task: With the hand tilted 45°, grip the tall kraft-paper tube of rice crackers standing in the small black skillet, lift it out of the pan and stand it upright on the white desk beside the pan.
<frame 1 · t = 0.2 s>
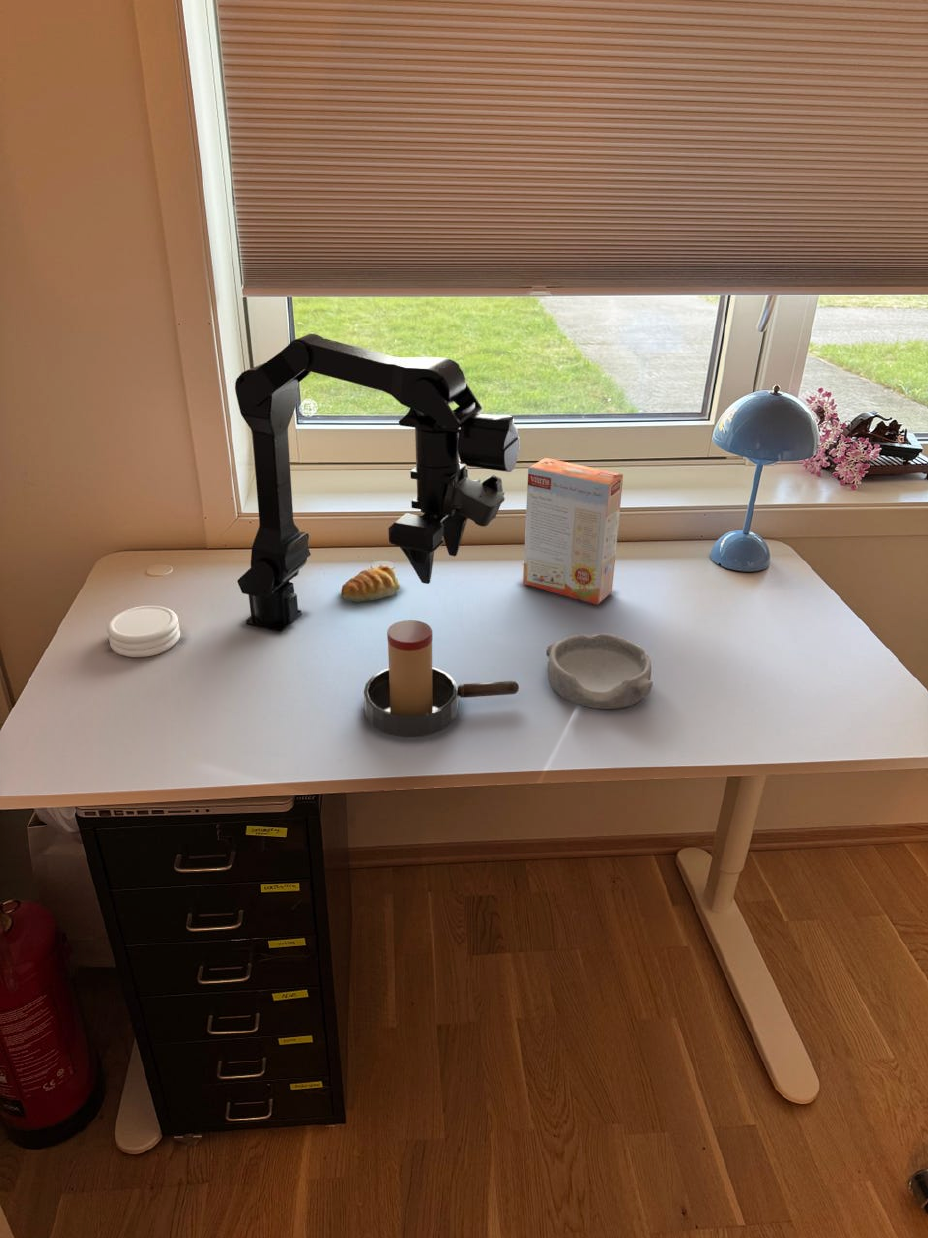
hand: (439, 568, 128), 15 cm above the table, tool pointing down, fingers open, 9 cm apart
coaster: (146, 642, 138), on the table
cracker box: (567, 589, 154), on the table
pan handle: (487, 689, 123), point 2 cm above the table
dish: (596, 685, 130), on the table
cracker tube: (410, 670, 120), in the pan
pan: (411, 712, 123), on the table
pastry: (372, 593, 152), on the table
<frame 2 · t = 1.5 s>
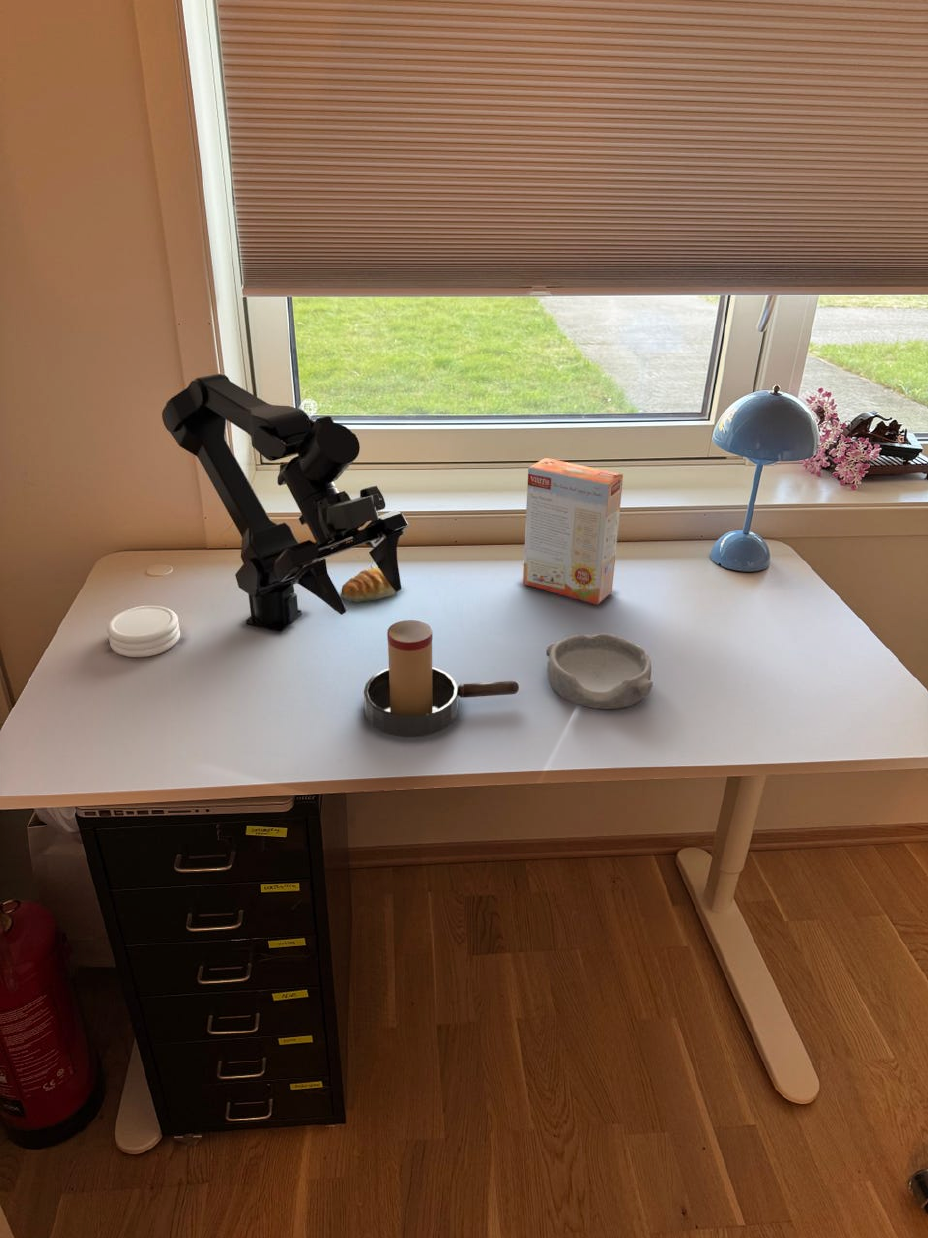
hand: (372, 601, 122), 13 cm above the table, tool tilted 45°, fingers open, 9 cm apart
nothing on the table moved.
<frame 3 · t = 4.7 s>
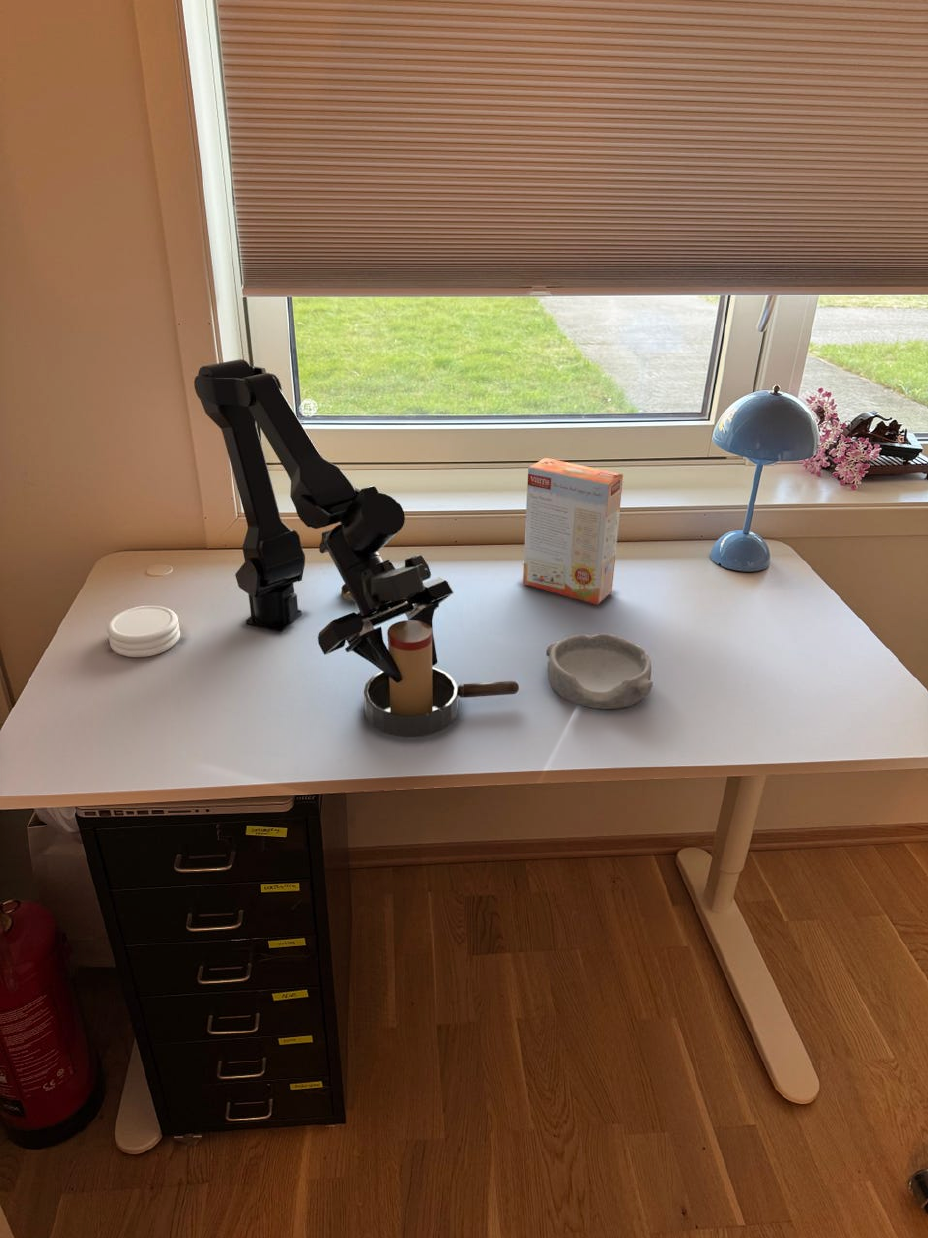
hand: (417, 672, 119), 7 cm above the table, tool tilted 45°, fingers closed on cracker tube, 5 cm apart
cracker tube: (410, 670, 120), in the pan, touching gripper
everything else where it was.
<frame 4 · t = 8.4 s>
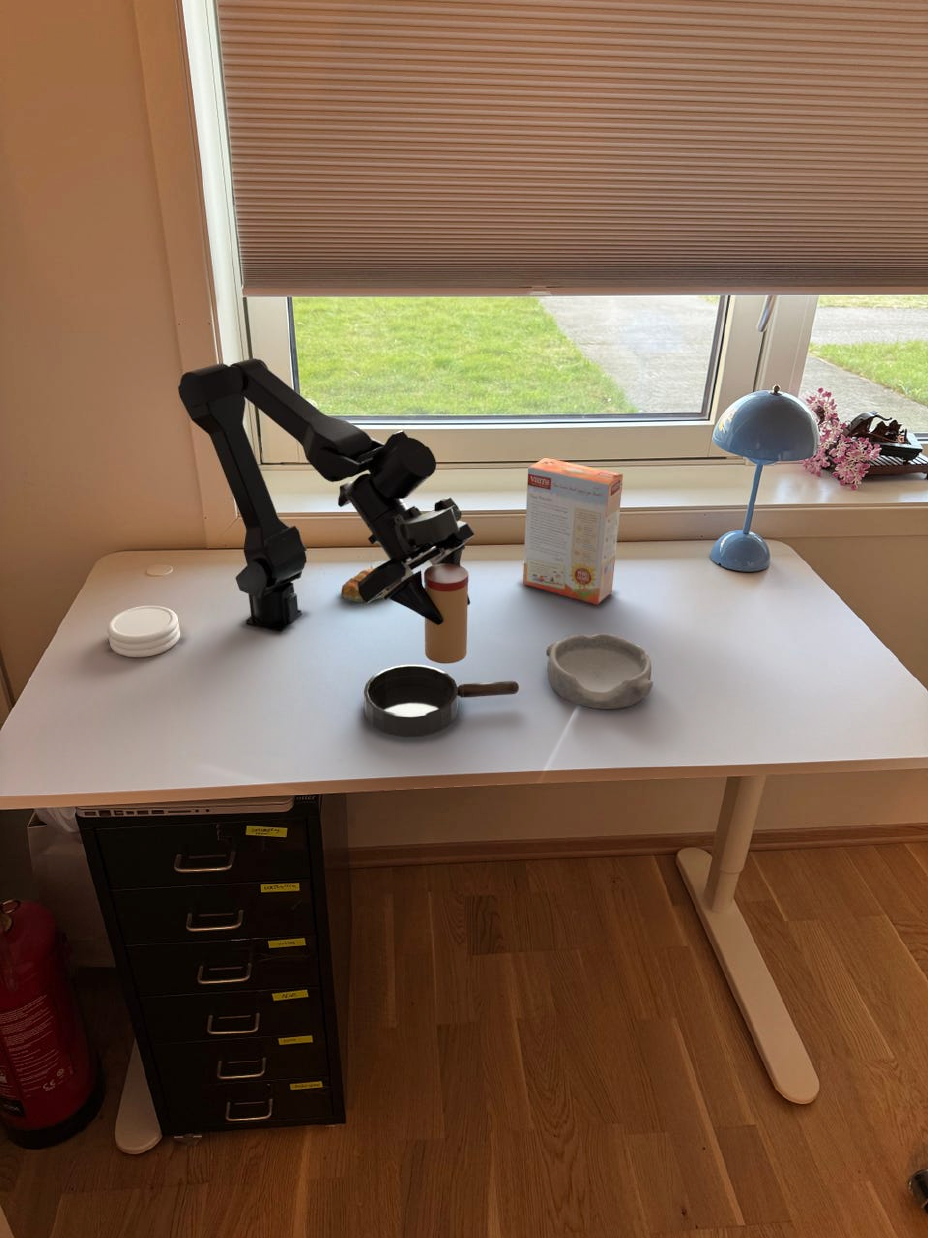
hand: (454, 614, 121), 12 cm above the table, tool tilted 45°, fingers closed on cracker tube, 5 cm apart
cracker tube: (446, 613, 122), point 12 cm above the table, touching gripper
everything else where it was.
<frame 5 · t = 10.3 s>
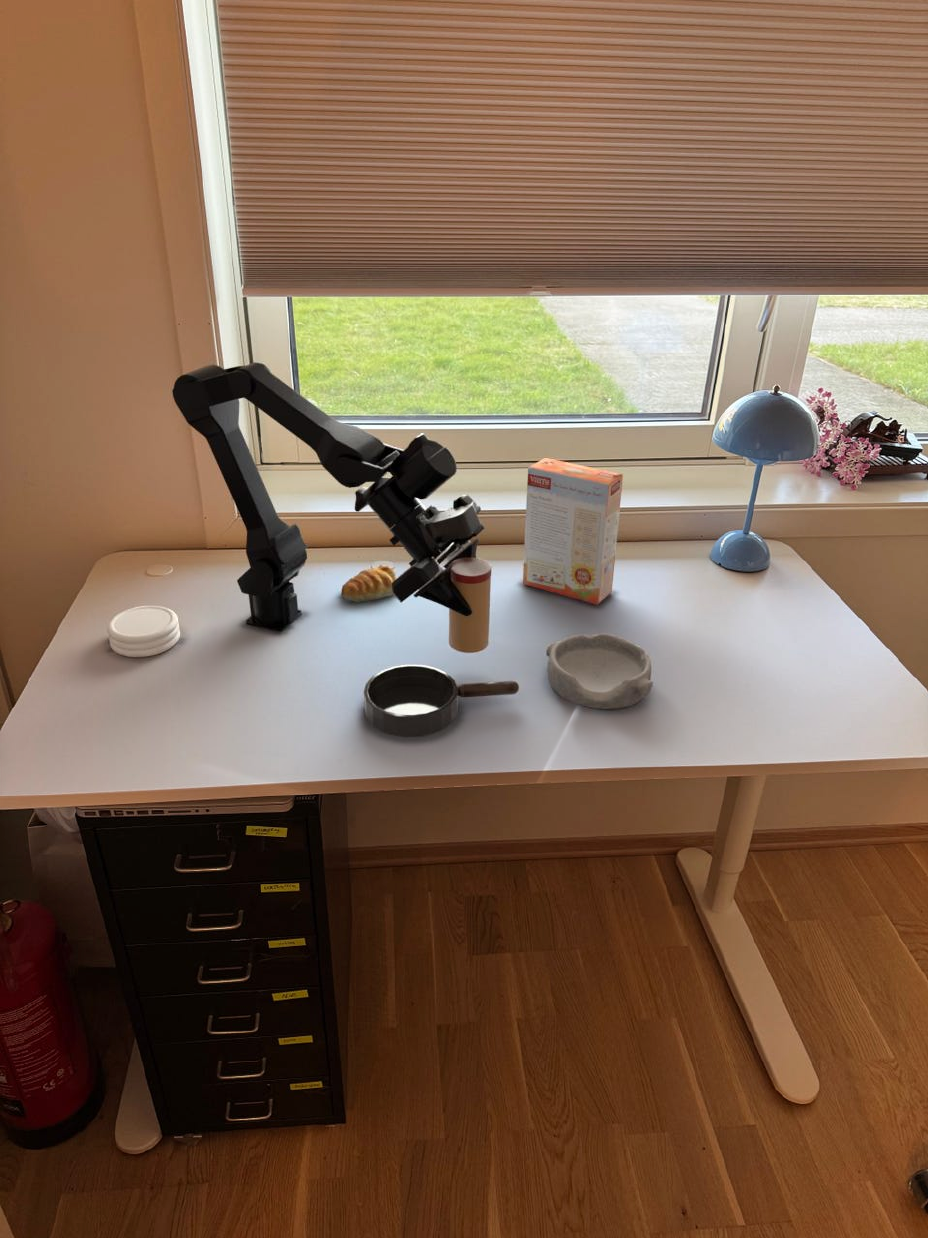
hand: (478, 605, 127), 11 cm above the table, tool tilted 45°, fingers closed on cracker tube, 5 cm apart
cracker tube: (469, 605, 128), point 10 cm above the table, touching gripper
everything else where it was.
when the fingers open (6 cm above the table, at t = 12.0 s): cracker tube stays where it is, on the table.
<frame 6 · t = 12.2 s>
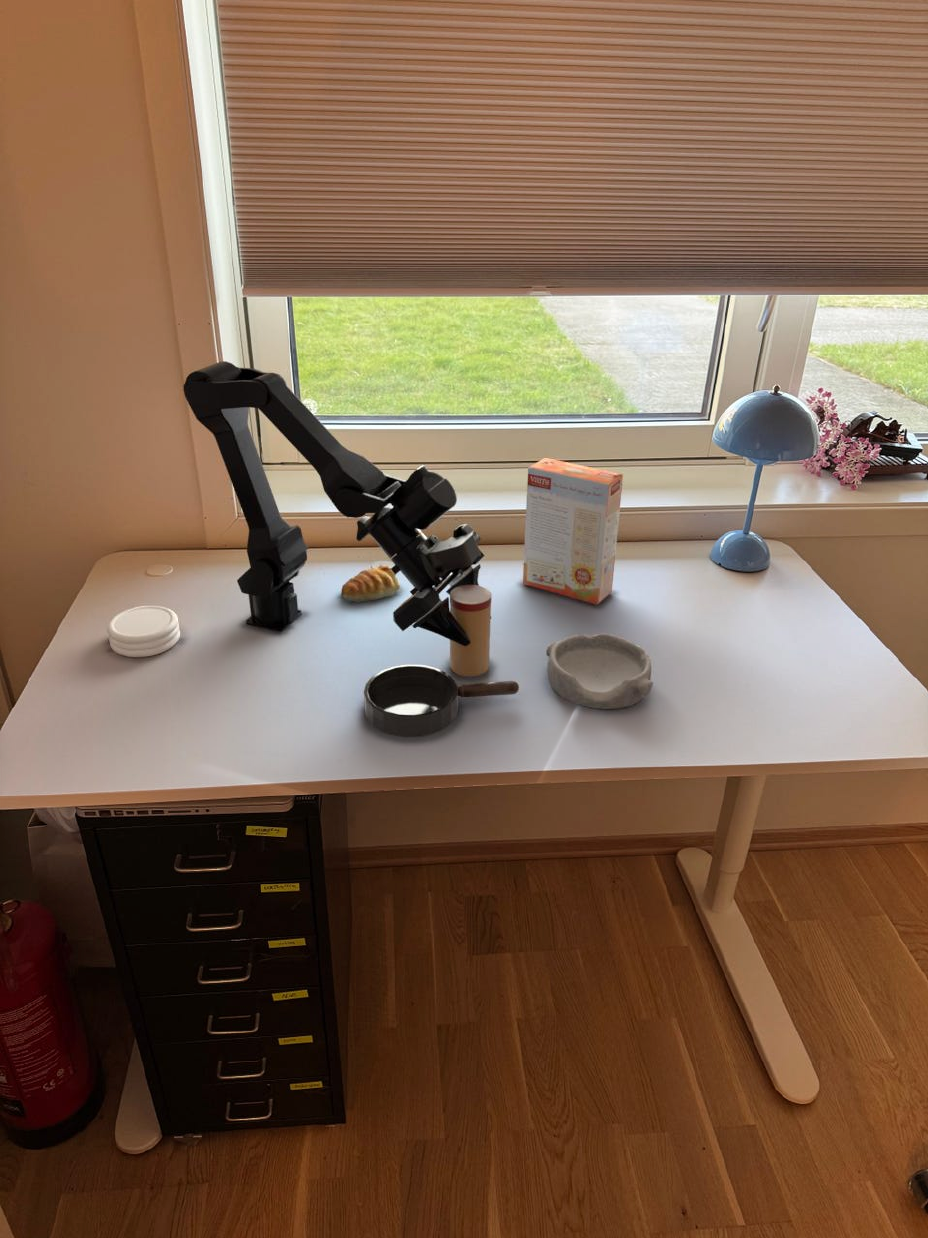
hand: (478, 632, 129), 6 cm above the table, tool tilted 45°, fingers open, 7 cm apart
cracker tube: (470, 632, 130), on the table
everything else where it was.
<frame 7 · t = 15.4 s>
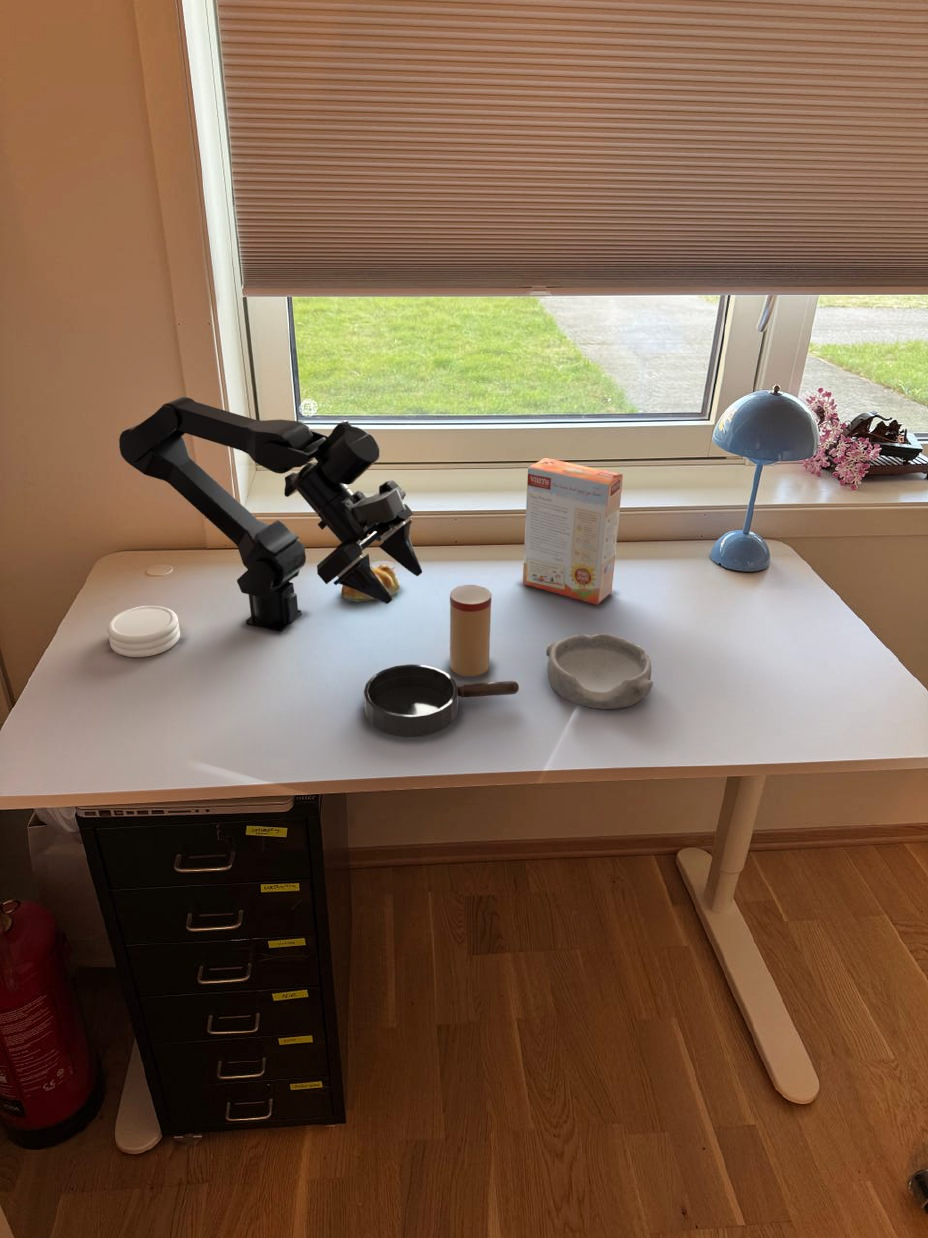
hand: (405, 587, 131), 11 cm above the table, tool tilted 45°, fingers open, 9 cm apart
nothing on the table moved.
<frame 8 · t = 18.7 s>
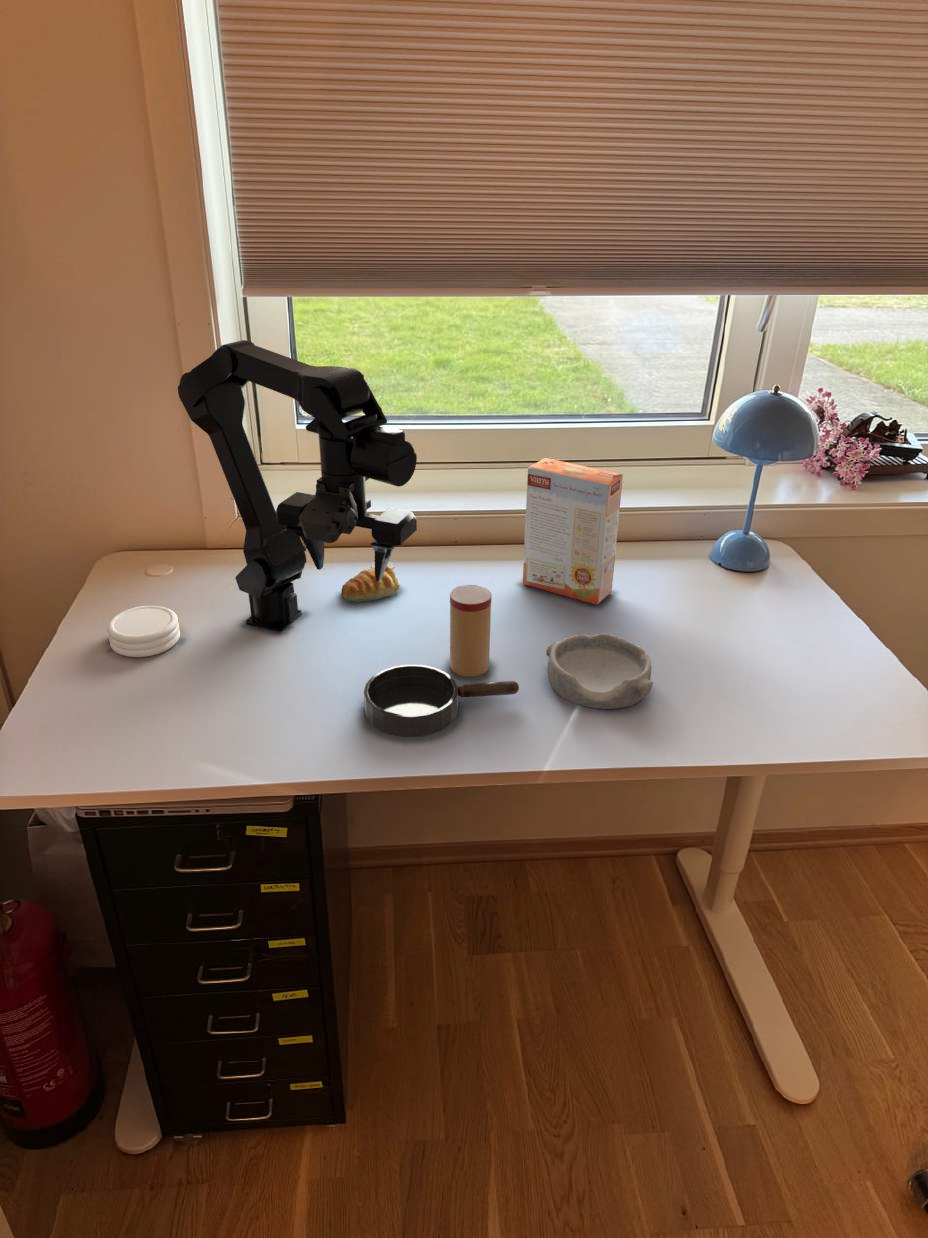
hand: (349, 574, 129), 13 cm above the table, tool pointing down, fingers open, 9 cm apart
nothing on the table moved.
at the end: cracker tube inside the target area (0.1 cm from its centre), on the table; cracker tube tilted 0°; the gripper is holding nothing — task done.
